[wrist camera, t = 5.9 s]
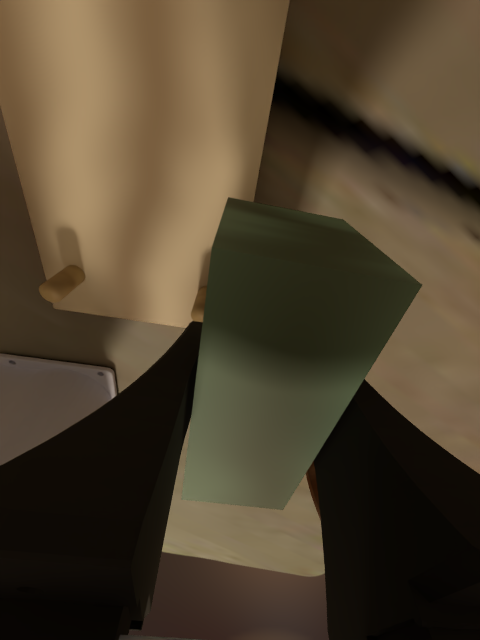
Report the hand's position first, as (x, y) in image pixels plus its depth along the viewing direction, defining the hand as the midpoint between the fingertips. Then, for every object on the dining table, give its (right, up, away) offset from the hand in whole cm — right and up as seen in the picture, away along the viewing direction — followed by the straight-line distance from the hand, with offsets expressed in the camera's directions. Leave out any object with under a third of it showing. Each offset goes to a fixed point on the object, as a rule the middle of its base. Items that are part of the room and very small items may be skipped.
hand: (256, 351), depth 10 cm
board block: (0, +1, +1) cm, 2 cm away
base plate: (-6, +10, +4) cm, 12 cm away
